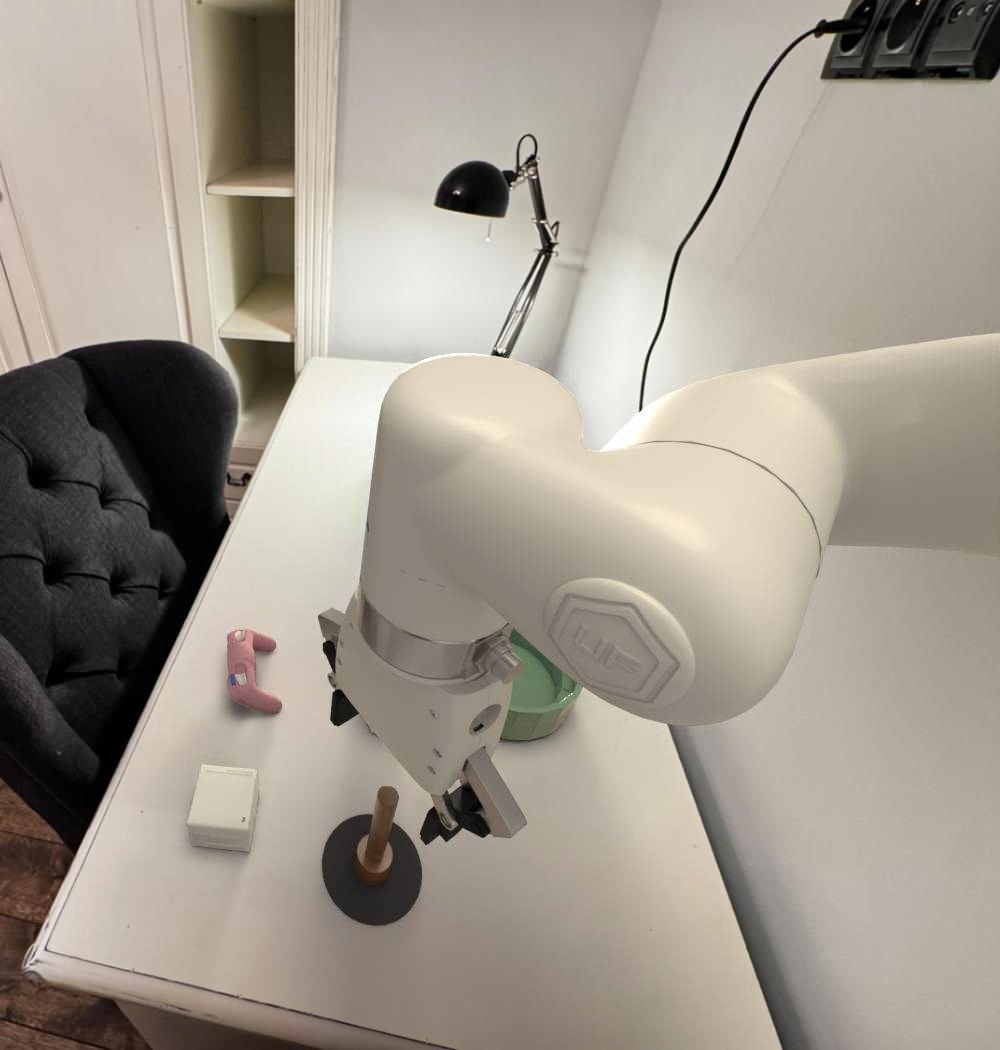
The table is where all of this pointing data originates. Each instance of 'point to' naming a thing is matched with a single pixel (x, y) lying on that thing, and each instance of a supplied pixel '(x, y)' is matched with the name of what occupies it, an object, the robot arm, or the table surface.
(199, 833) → the small box
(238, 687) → the video game controller
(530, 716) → the bowl
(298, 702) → the table surface
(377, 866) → the pestle
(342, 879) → the coaster
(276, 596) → the table surface
